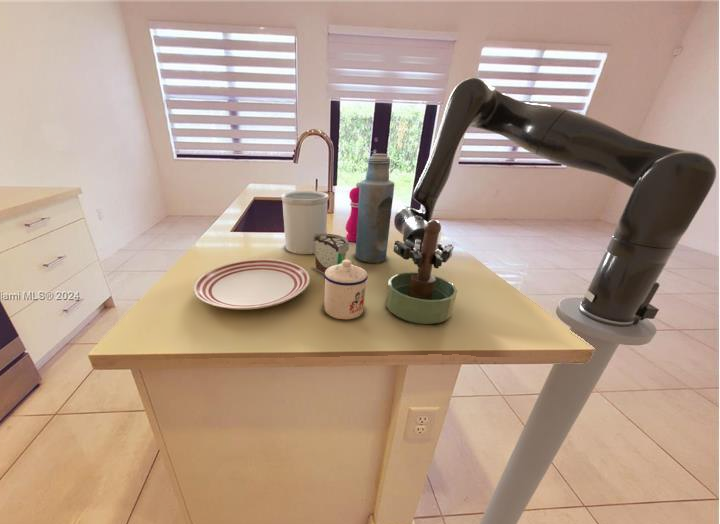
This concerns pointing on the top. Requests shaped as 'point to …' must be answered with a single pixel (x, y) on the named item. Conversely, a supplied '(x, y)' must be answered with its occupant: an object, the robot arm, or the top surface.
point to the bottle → (374, 210)
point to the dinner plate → (251, 284)
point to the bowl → (420, 300)
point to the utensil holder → (304, 219)
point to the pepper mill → (353, 214)
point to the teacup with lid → (344, 290)
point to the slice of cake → (329, 250)
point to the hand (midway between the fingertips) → (429, 263)
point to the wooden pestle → (426, 264)
